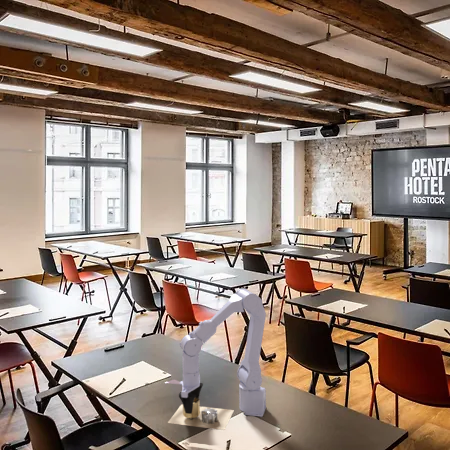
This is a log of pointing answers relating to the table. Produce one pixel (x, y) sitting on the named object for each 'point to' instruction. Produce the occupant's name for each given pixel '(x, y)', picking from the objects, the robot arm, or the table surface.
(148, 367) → the table surface
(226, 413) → the plate
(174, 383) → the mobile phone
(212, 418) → the sun gear
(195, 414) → the octagonal wooden pipe
